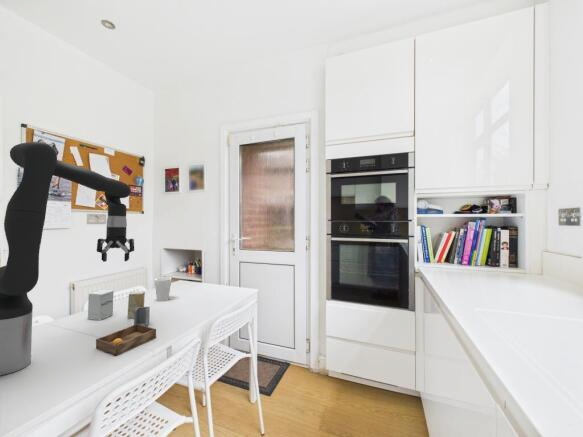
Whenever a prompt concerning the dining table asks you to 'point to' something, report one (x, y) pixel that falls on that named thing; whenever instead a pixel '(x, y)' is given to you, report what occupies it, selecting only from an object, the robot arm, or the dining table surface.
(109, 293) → the supplement box
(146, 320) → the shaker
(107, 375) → the dining table surface
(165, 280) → the foam cup
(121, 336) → the tray
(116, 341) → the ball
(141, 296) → the skincare box
